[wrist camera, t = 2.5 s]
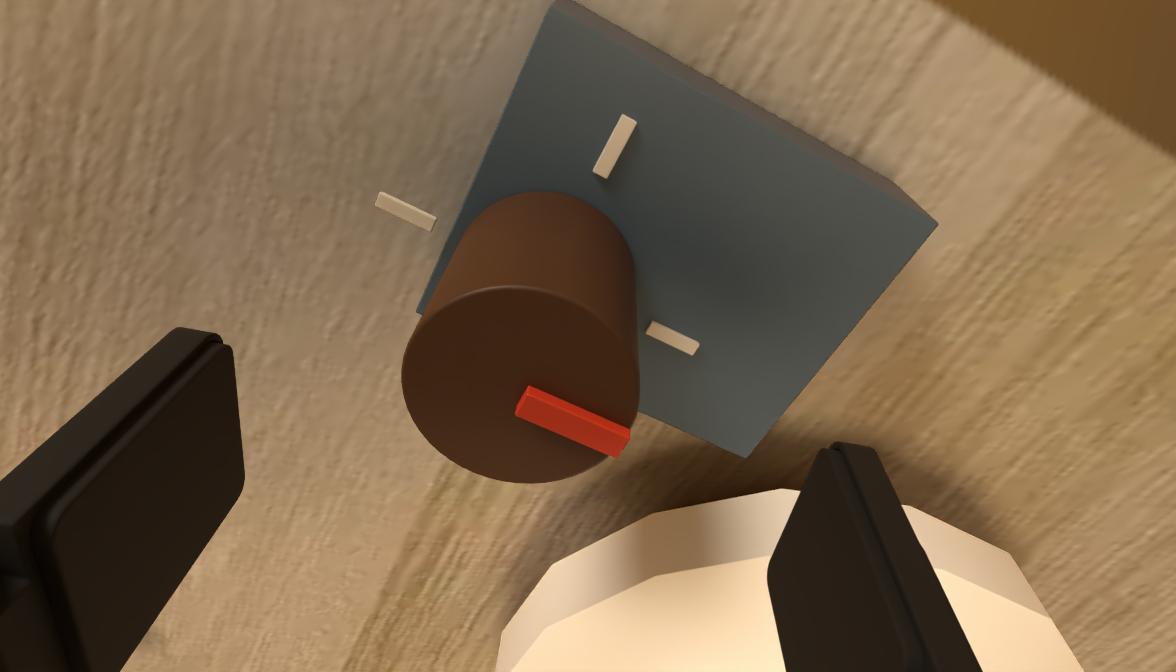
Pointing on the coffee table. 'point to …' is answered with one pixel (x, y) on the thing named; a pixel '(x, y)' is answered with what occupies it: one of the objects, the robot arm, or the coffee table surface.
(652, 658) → the white vase
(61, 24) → the coffee table surface
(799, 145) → the panel
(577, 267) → the knob
